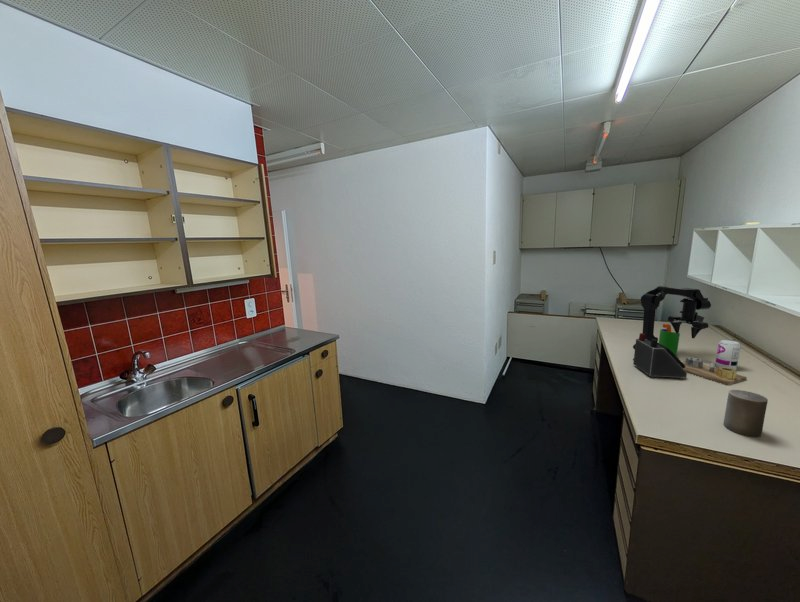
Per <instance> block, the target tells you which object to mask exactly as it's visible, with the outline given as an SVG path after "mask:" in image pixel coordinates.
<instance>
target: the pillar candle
mask: <svg viewBox="0 0 800 602" xmlns="http://www.w3.org/2000/svg"><path fill="white" fill-rule="evenodd" d="M726 400H727V401H726V405H725V406H726V407H725V411H724V416H723V417H724V419H723V427H724V428H726V429H727V430H730V431H731V432H734V433H736V434H739V435H742V436H746V437H751V438H759V437H762V434H763V430H764V429H763V428H764V423H765V416H766V412H767V408H768V398H767V397H765V396H764V395H761V394H758V393H756V392H752V391H748V390H742V389H729V390H728V395H727V399H726Z"/></svg>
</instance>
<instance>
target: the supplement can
mask: <svg viewBox="0 0 800 602" xmlns="http://www.w3.org/2000/svg"><path fill="white" fill-rule="evenodd" d="M716 351H717V352H716V356H715V362H714V363H715V368H718V367H727V368H732V369H734V370H736V371H737V369H738V364H739V357H740V353H741V344H740V342H738V341H734V340H729V339H721V340H720V341H718V345H717V350H716Z"/></svg>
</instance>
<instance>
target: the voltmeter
mask: <svg viewBox="0 0 800 602" xmlns="http://www.w3.org/2000/svg"><path fill="white" fill-rule="evenodd" d="M657 341H658V342H657ZM634 345H635V349H634V354H633V359H634V360H633V363H632V365H634V366H635V367H636V368H637V369H639V370H641V371H642V372H644V373H645V374H646V375H648V377H649V378H655V377H665V378H675V379H676V380H682V378H683V379H684V378H685V379H686V378H687V376H688V373H687V372H686V371H685V370H684V369H683V368H685V367H686V366H685V365H684V364H683V363H682V362H683V361H682V360H681V359H680V358H679V357H678V356H677V355H675V354H674V353H673V352H672V351H671V350H670V349H669V348H667V347H665V346H663V345H661V344H659V339H658V340H656V339H651V342H650V341H648V340H647V339H645V334H644V333H643V332H641V333H639V336H638V338H635V344H634Z"/></svg>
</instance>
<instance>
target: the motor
mask: <svg viewBox="0 0 800 602" xmlns="http://www.w3.org/2000/svg"><path fill="white" fill-rule="evenodd" d="M671 326H672V325H671V324H669V323H663V324H662V328H660V331H659V338H658V343H659V344H661V345H663V346H665V347H667V348H669V349H670V350H671V351H672V352H673V353H674V354H675V355H676V356H677V354H678V349H679V348H678V347H679V342H680V336H681V333H680V332H679V333H676V332H675V331H674V332H673V331H672V327H671Z"/></svg>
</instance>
